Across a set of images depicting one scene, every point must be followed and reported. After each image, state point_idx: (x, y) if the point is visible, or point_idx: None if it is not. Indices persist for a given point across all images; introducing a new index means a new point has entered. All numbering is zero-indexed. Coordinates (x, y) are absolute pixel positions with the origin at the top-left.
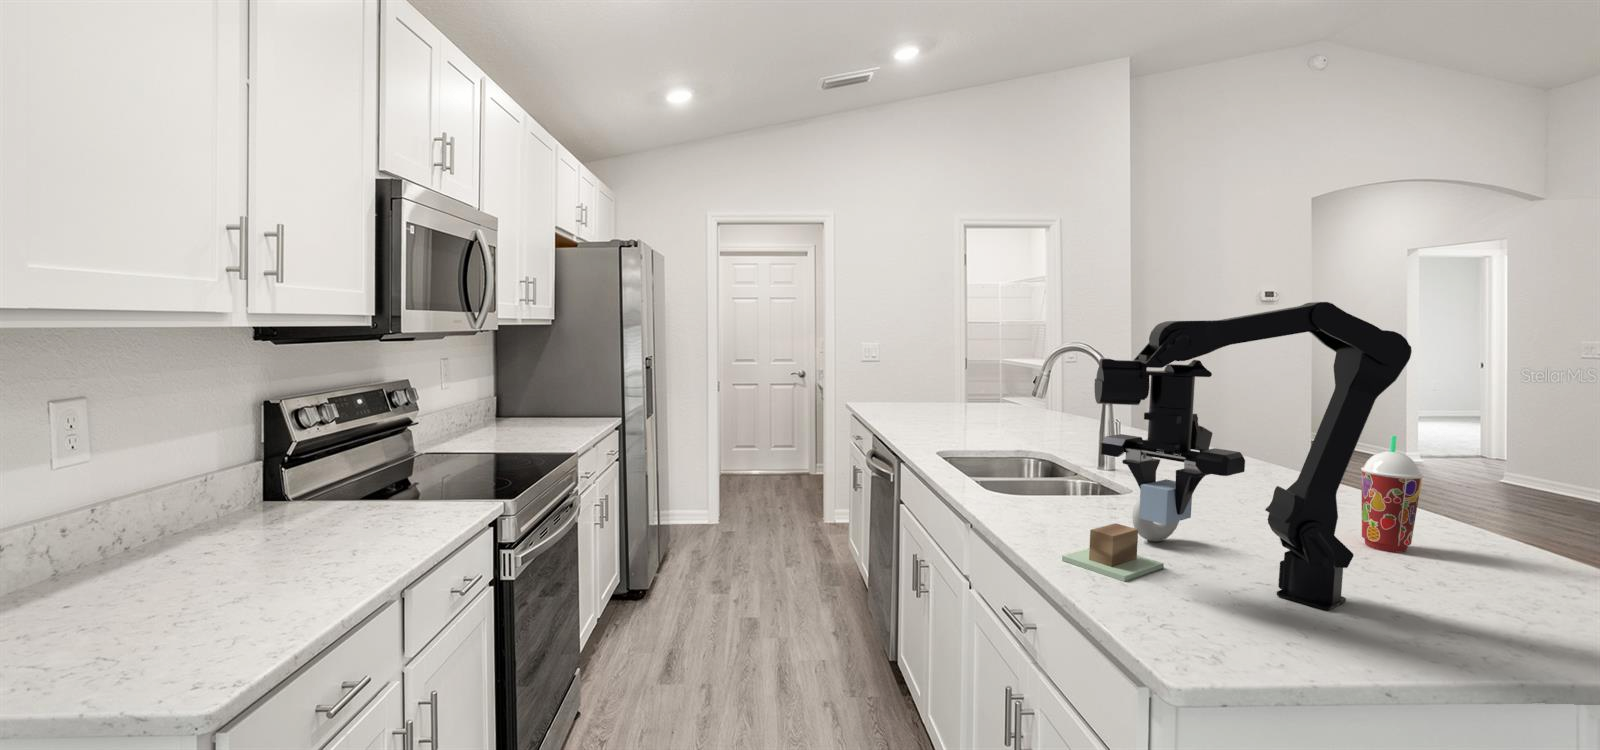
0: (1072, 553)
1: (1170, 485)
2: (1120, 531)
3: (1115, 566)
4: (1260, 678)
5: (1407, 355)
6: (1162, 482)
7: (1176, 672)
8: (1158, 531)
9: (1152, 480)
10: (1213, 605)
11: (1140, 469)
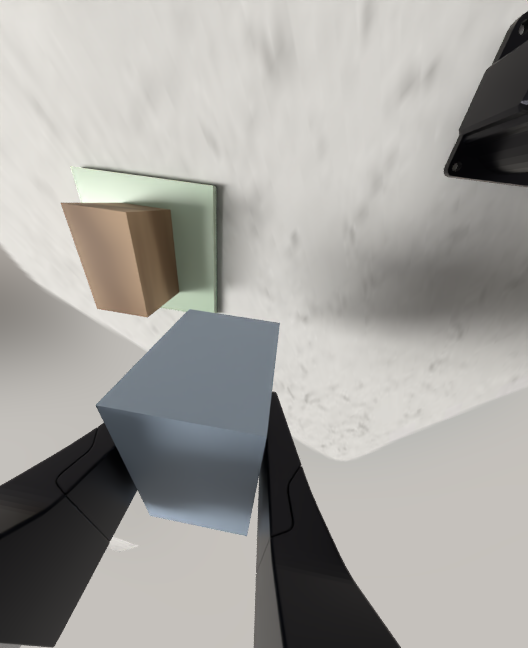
0: None
1: (208, 491)
2: (127, 272)
3: (180, 284)
4: (398, 436)
5: None
6: (151, 467)
7: (340, 453)
8: None
9: (113, 472)
10: (339, 312)
11: (82, 591)
